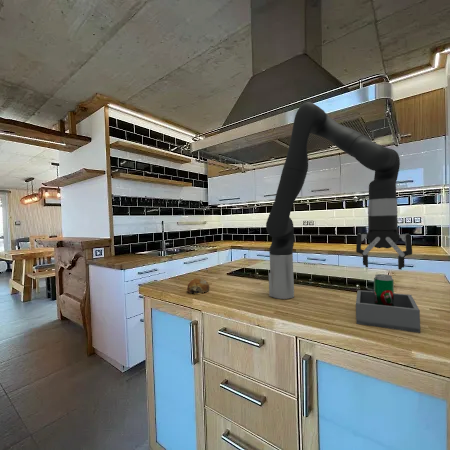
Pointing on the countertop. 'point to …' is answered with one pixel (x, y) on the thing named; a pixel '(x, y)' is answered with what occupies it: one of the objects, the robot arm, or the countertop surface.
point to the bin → (388, 312)
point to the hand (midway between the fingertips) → (382, 268)
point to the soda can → (383, 290)
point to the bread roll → (198, 286)
